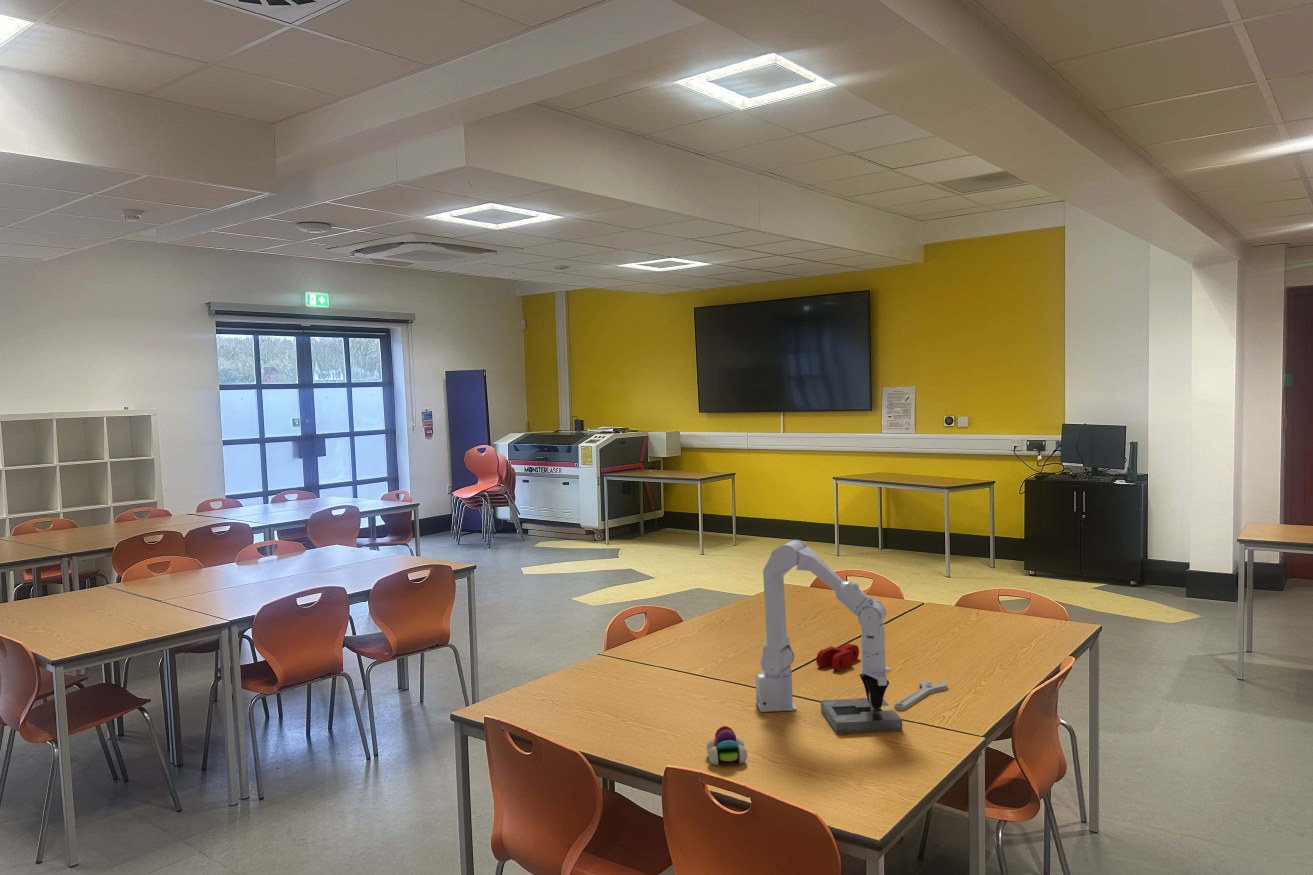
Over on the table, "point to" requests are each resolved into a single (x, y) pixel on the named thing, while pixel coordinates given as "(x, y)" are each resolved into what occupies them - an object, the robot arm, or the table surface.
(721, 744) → the colorful toy go-kart
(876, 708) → the steel peg
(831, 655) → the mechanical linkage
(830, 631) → the table surface
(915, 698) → the adjustable wrench
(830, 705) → the keyhole plate
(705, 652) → the table surface
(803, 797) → the table surface
